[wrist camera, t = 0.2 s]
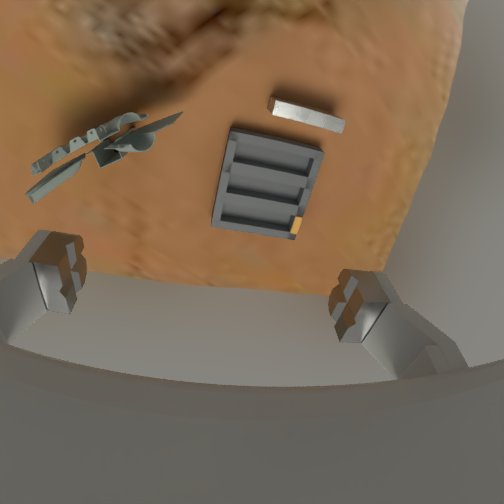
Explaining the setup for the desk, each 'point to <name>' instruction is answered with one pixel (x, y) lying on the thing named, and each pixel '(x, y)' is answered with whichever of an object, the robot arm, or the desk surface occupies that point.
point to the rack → (264, 184)
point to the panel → (305, 114)
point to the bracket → (96, 150)
